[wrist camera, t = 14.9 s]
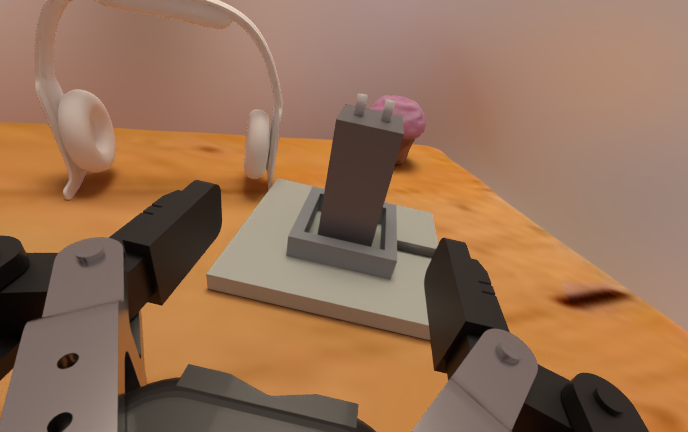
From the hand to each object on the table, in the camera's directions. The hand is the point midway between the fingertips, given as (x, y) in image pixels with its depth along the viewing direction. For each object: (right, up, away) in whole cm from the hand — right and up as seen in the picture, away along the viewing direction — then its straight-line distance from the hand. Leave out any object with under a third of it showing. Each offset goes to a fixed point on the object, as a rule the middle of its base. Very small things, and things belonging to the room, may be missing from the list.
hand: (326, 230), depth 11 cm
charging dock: (0, -3, +18) cm, 18 cm away
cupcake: (+7, +10, +39) cm, 41 cm away
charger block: (+1, -1, +17) cm, 17 cm away
